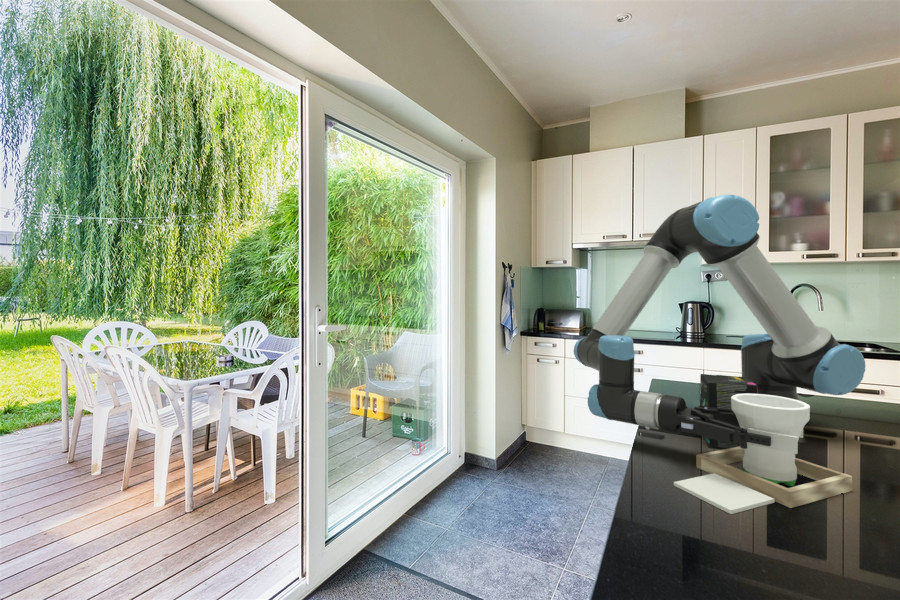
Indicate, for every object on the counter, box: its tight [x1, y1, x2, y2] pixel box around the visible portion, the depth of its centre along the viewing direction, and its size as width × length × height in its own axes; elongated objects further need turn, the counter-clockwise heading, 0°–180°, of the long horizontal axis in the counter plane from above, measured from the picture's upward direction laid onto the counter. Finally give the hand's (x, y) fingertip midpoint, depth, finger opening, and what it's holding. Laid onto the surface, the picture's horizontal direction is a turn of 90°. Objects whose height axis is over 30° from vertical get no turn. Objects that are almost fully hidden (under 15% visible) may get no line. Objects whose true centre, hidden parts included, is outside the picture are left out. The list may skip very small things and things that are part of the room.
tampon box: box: [699, 373, 758, 450], centre depth 90 cm, size 11×9×15 cm
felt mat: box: [673, 473, 775, 515], centre depth 67 cm, size 10×10×1 cm
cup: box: [731, 393, 811, 487], centre depth 72 cm, size 11×11×14 cm
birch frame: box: [695, 447, 853, 509], centre depth 72 cm, size 16×16×2 cm
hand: (800, 437), depth 69 cm, fingers closed on cup, 10 cm apart
